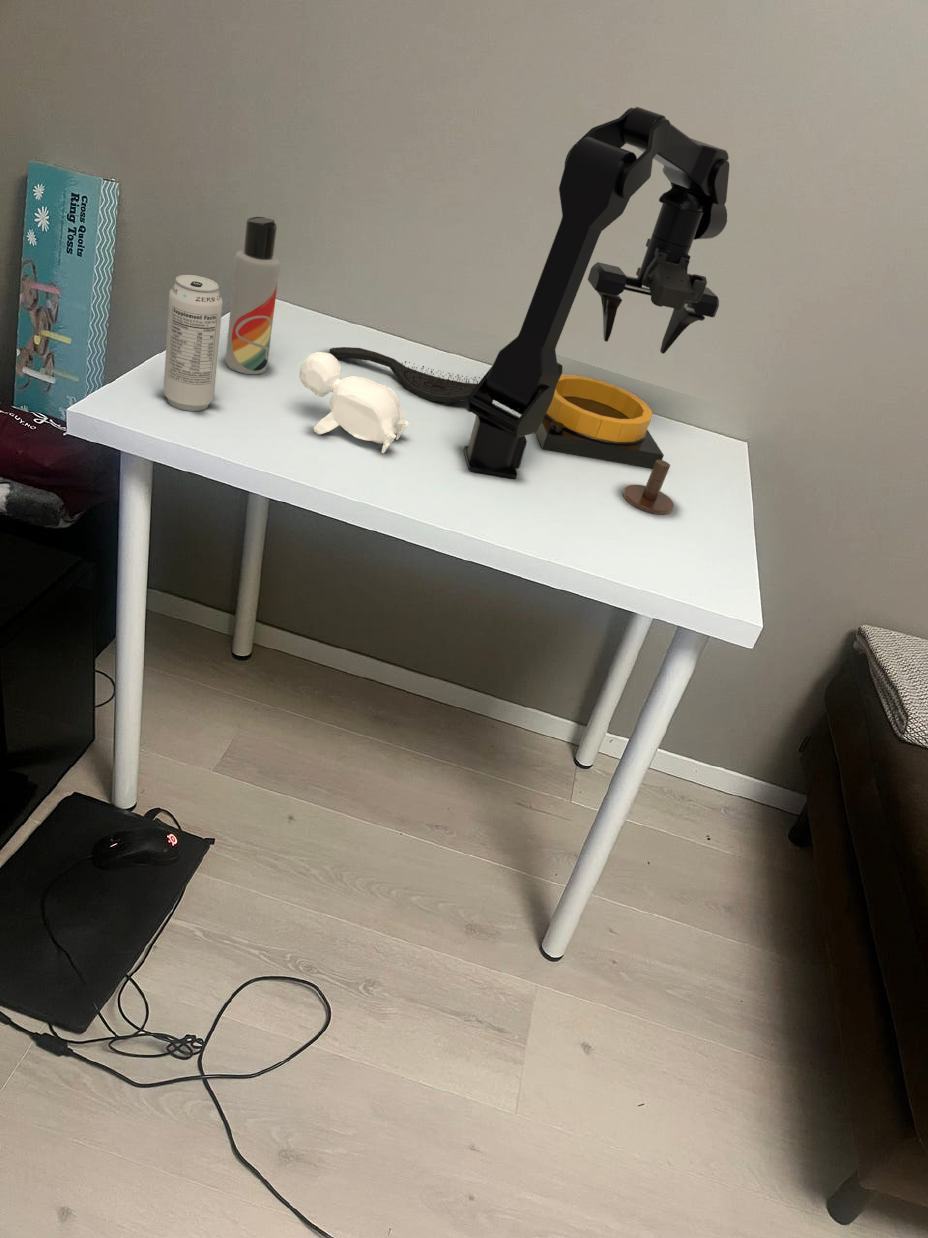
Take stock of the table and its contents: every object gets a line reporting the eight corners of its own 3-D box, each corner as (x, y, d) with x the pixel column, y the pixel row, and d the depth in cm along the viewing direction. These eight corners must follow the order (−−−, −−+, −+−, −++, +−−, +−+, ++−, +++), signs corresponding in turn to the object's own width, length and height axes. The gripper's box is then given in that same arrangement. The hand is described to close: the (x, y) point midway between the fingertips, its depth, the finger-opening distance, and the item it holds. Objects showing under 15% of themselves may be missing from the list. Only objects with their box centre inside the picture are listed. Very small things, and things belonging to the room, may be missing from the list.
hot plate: (542, 449, 129) (549, 427, 127) (521, 398, 144) (527, 378, 142) (658, 469, 134) (666, 448, 132) (626, 418, 148) (633, 398, 146)
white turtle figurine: (389, 452, 123) (302, 380, 122) (423, 405, 119) (332, 330, 117) (366, 474, 116) (273, 399, 115) (401, 426, 112) (304, 346, 110)
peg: (630, 510, 120) (646, 471, 117) (617, 484, 126) (631, 446, 122) (678, 518, 122) (695, 479, 118) (663, 492, 127) (679, 455, 124)
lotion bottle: (262, 378, 126) (280, 228, 114) (220, 368, 125) (235, 216, 114) (270, 364, 130) (288, 218, 119) (230, 354, 129) (244, 207, 118)
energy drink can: (217, 398, 117) (228, 281, 109) (207, 416, 112) (218, 295, 104) (169, 387, 116) (176, 269, 108) (157, 406, 111) (164, 283, 103)
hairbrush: (343, 329, 141) (494, 375, 137) (340, 352, 143) (489, 398, 139) (320, 342, 134) (478, 390, 130) (317, 366, 136) (473, 414, 132)
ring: (552, 430, 129) (558, 410, 127) (531, 385, 142) (537, 366, 140) (658, 449, 132) (665, 431, 131) (628, 404, 146) (635, 386, 144)
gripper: (624, 240, 120) (587, 354, 128) (751, 270, 124) (707, 378, 132) (604, 219, 129) (571, 327, 137) (724, 248, 133) (684, 351, 141)
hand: (633, 346), depth 137 cm, fingers open, 9 cm apart
